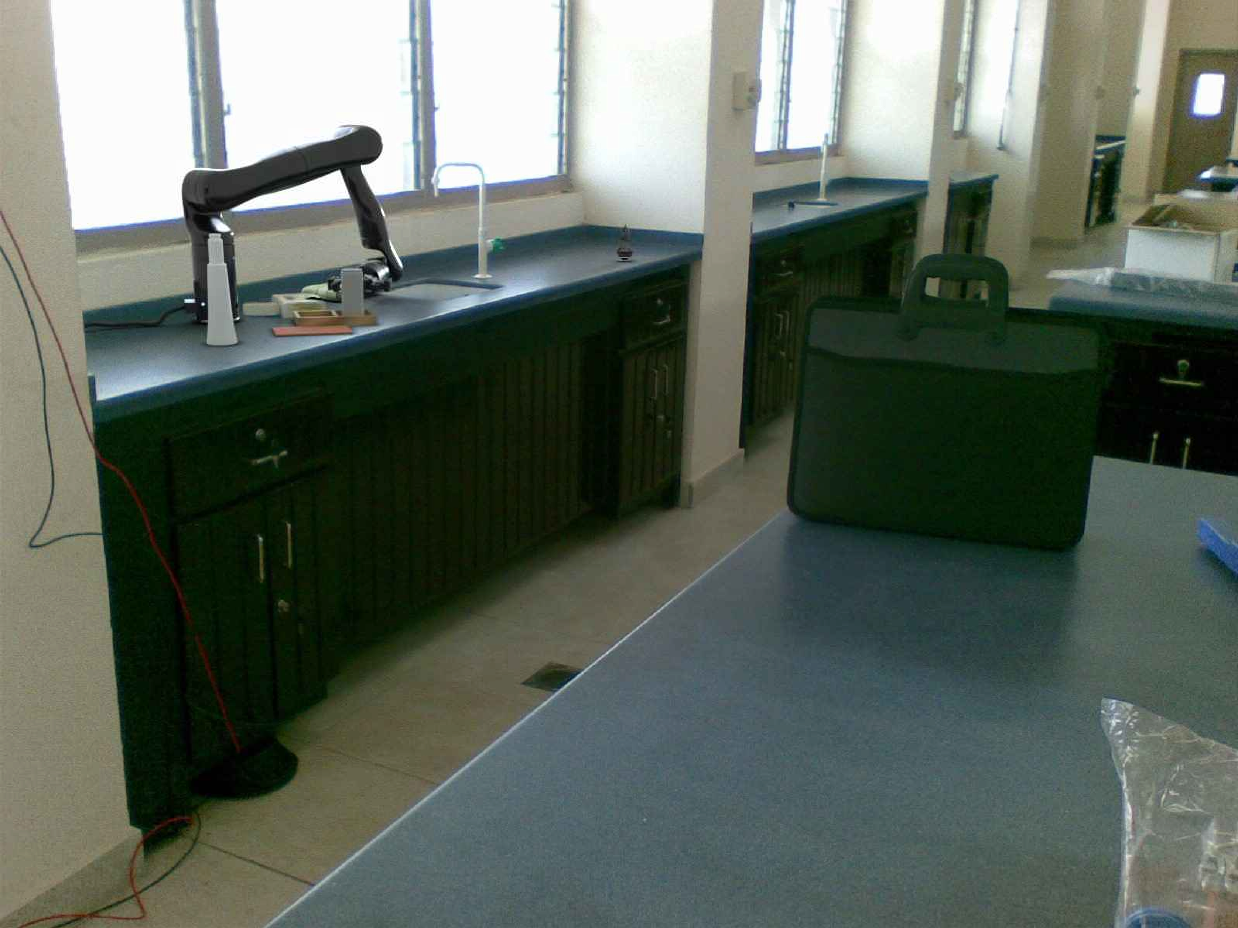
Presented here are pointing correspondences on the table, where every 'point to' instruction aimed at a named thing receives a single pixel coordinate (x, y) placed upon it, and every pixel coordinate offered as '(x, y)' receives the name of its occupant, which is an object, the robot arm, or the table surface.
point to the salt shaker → (625, 244)
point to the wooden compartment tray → (333, 318)
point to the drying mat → (312, 330)
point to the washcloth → (323, 292)
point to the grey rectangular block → (352, 291)
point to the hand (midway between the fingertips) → (353, 288)
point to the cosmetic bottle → (218, 297)
